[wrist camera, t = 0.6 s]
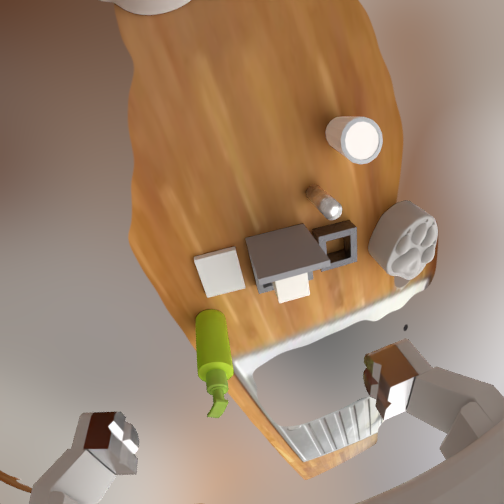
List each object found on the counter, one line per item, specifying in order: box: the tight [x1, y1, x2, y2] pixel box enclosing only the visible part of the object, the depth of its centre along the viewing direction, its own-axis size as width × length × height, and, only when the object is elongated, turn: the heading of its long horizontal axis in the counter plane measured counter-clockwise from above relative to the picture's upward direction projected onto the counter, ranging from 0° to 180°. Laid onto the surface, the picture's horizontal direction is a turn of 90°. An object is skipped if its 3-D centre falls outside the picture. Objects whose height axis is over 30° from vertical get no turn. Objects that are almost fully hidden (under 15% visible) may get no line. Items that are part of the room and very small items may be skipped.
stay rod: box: [306, 185, 342, 220], centre depth 45 cm, size 3×3×8 cm
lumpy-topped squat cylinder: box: [368, 200, 438, 280], centre depth 51 cm, size 10×13×9 cm
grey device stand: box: [245, 224, 330, 294], centre depth 48 cm, size 10×10×12 cm
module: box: [271, 273, 310, 303], centre depth 49 cm, size 5×5×8 cm
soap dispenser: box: [196, 309, 234, 418], centre depth 49 cm, size 6×7×20 cm
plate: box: [194, 246, 246, 298], centre depth 52 cm, size 8×7×1 cm
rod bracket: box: [312, 220, 357, 272], centre depth 52 cm, size 7×7×3 cm
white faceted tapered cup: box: [325, 116, 383, 164], centre depth 41 cm, size 7×7×7 cm
